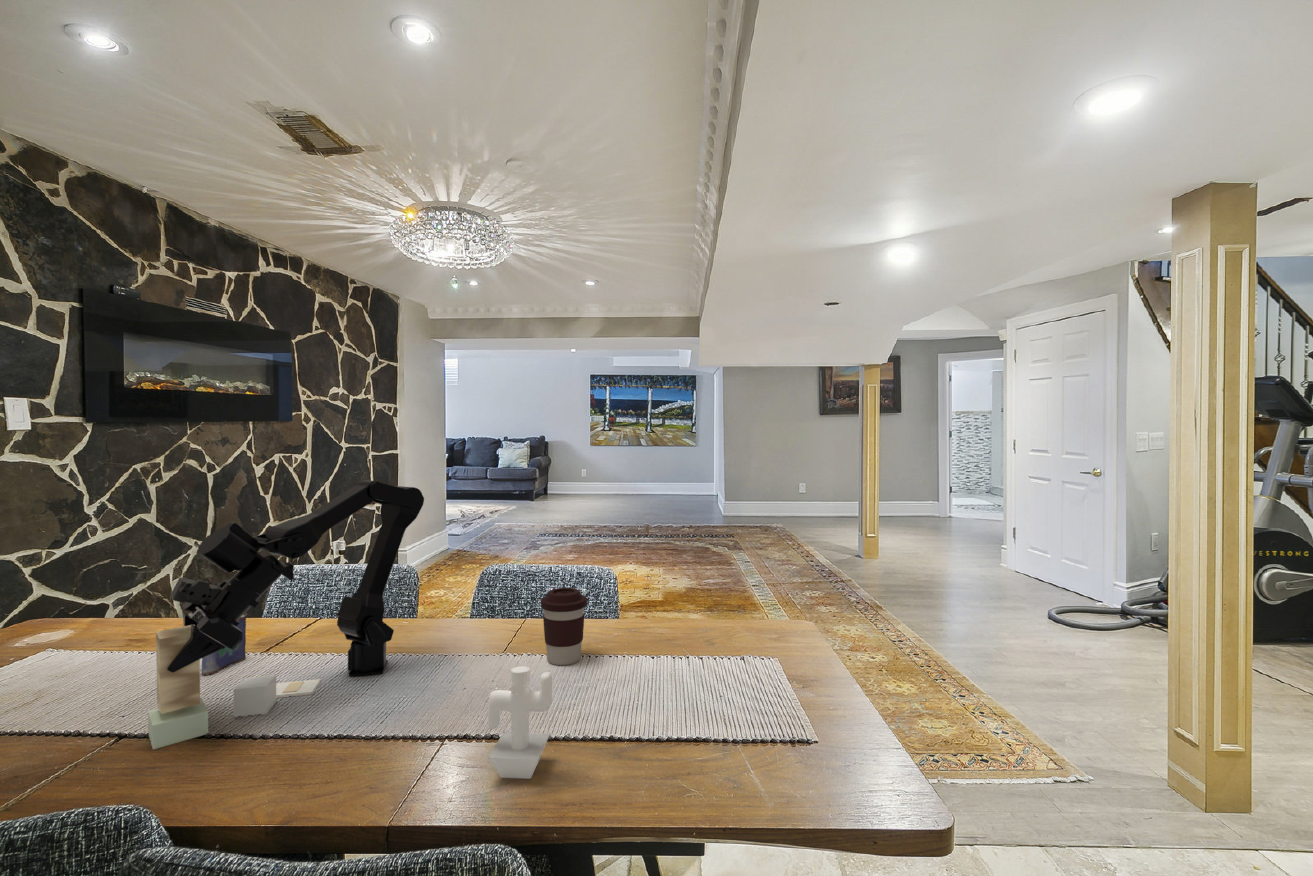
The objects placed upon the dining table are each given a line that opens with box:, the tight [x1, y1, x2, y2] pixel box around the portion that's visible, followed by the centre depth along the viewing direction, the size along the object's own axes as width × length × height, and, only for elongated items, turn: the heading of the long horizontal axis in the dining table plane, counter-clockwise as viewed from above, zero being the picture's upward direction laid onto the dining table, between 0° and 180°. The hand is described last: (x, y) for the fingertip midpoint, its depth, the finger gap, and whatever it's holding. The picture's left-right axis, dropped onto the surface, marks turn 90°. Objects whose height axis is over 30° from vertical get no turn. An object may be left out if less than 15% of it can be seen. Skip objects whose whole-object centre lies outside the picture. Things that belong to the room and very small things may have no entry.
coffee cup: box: [540, 587, 588, 666], centre depth 130 cm, size 10×10×15 cm
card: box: [276, 678, 322, 699], centre depth 115 cm, size 8×6×1 cm
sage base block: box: [147, 697, 209, 750], centre depth 98 cm, size 7×7×4 cm
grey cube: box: [233, 674, 277, 718], centre depth 107 cm, size 5×5×5 cm
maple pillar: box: [155, 625, 201, 714], centre depth 98 cm, size 5×5×12 cm
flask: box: [201, 614, 247, 676], centre depth 127 cm, size 10×3×12 cm, turn 172°
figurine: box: [487, 665, 553, 780], centre depth 88 cm, size 7×9×15 cm
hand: (167, 666), depth 97 cm, fingers closed on maple pillar, 5 cm apart
